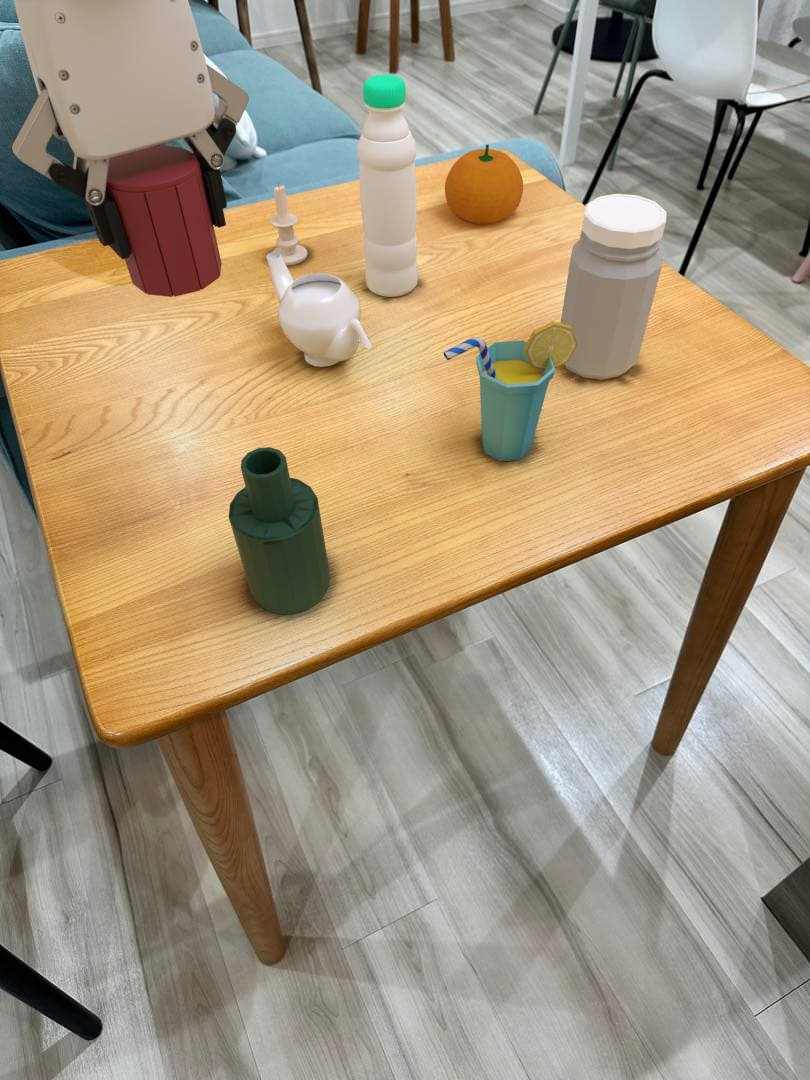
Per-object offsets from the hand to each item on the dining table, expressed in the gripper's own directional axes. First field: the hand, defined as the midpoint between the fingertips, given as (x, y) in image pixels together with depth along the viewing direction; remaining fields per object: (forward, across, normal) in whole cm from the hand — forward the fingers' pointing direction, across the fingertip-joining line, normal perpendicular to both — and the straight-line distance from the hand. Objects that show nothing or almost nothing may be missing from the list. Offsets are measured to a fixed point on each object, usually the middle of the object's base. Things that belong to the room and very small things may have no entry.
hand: (167, 233), depth 55 cm
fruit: (+28, -59, -32) cm, 72 cm away
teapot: (+28, -20, -15) cm, 37 cm away
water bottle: (+28, -36, -23) cm, 51 cm away
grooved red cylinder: (+3, 0, 0) cm, 3 cm away
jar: (+28, -45, +6) cm, 53 cm away
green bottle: (+28, +1, +13) cm, 30 cm away
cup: (+28, -26, +10) cm, 39 cm away
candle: (+28, -29, -39) cm, 56 cm away
